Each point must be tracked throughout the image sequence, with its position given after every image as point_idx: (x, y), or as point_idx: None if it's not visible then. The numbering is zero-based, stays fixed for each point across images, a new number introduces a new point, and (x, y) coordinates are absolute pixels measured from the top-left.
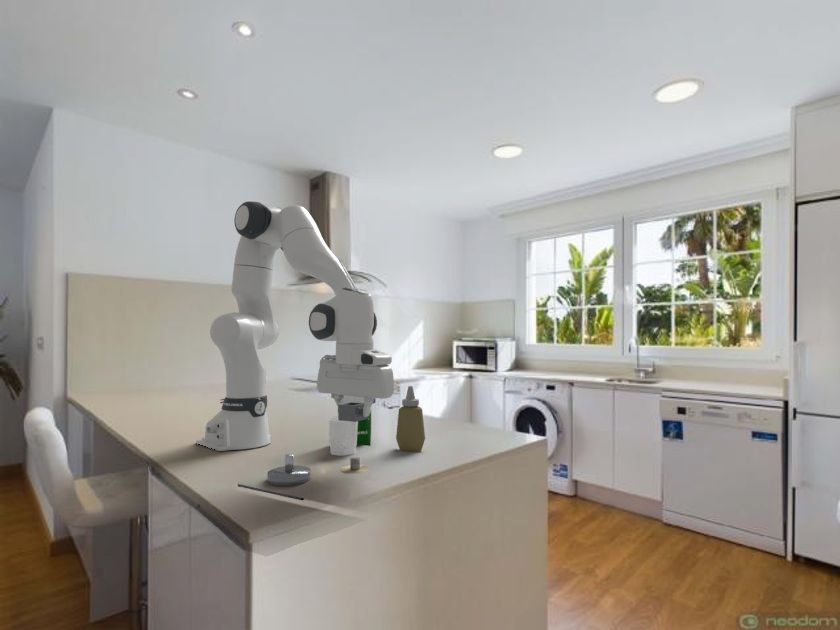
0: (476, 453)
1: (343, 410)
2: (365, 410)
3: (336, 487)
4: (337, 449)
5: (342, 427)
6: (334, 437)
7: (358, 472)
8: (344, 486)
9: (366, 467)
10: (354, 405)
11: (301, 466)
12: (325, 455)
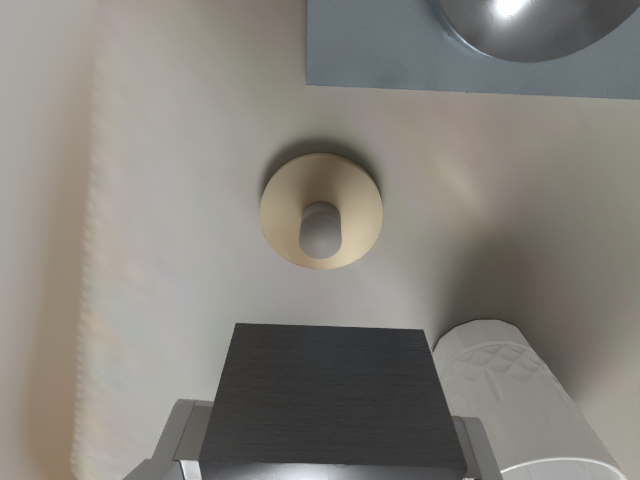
0: (119, 473)
1: (376, 406)
2: (156, 449)
3: (278, 16)
4: (493, 345)
5: (506, 431)
6: (528, 381)
7: (278, 185)
8: (255, 46)
9: (290, 249)
10: (232, 474)
11: (530, 46)
12: (548, 337)
